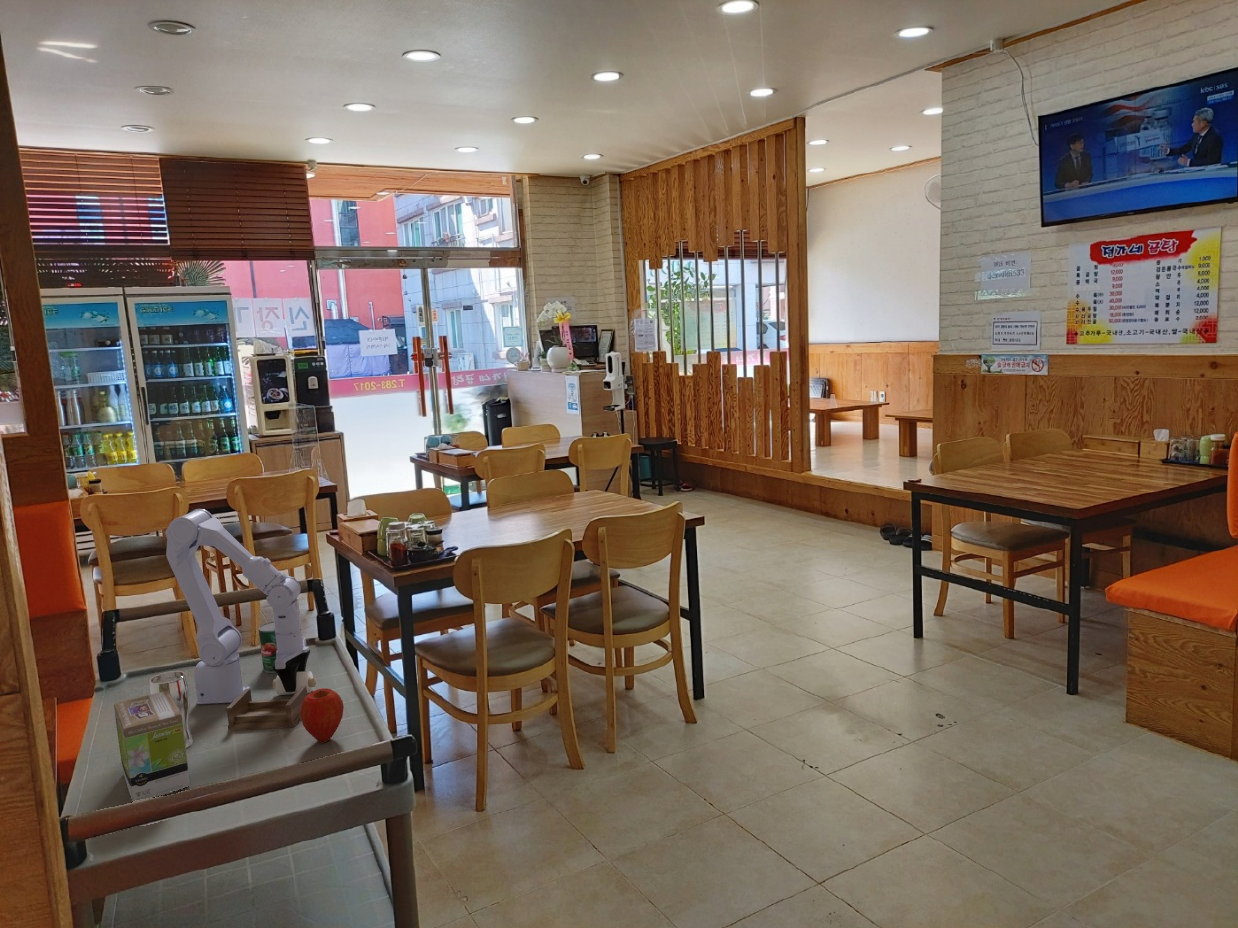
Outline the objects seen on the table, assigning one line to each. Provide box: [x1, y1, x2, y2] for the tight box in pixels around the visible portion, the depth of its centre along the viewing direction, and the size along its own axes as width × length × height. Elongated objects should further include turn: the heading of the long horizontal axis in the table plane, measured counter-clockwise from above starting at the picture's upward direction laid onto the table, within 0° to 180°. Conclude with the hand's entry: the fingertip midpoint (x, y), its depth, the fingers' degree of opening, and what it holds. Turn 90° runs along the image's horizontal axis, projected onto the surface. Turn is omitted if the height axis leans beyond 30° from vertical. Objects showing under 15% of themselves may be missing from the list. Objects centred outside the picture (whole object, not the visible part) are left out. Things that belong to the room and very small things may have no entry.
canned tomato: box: [258, 620, 277, 674], centre depth 221 cm, size 8×8×11 cm
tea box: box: [113, 691, 191, 802], centre depth 166 cm, size 15×10×15 cm, turn 35°
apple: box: [300, 687, 344, 743], centre depth 179 cm, size 9×8×11 cm
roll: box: [272, 670, 317, 696], centre depth 204 cm, size 9×5×5 cm, turn 90°
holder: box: [226, 686, 308, 731], centre depth 192 cm, size 14×10×5 cm
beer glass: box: [148, 670, 194, 749], centre depth 180 cm, size 7×7×15 cm
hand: (295, 686), depth 205 cm, fingers closed on roll, 5 cm apart
